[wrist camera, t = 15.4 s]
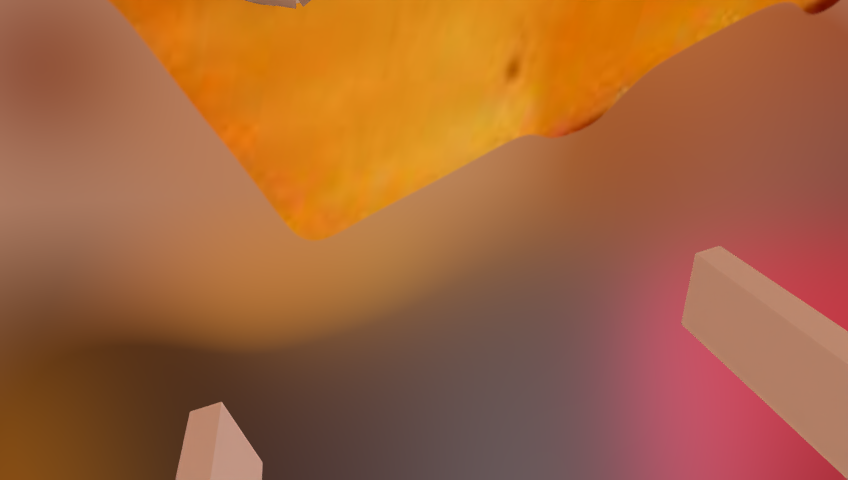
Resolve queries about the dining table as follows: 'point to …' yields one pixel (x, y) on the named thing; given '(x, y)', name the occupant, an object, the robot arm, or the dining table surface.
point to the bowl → (280, 2)
